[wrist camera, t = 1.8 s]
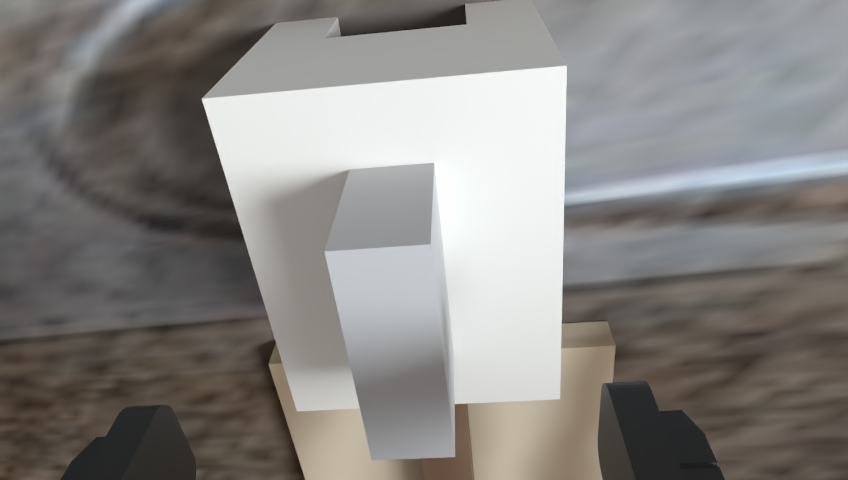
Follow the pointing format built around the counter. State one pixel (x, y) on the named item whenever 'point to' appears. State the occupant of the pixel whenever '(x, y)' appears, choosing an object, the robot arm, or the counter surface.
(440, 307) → the notched white block
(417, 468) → the wall board
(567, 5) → the counter surface
